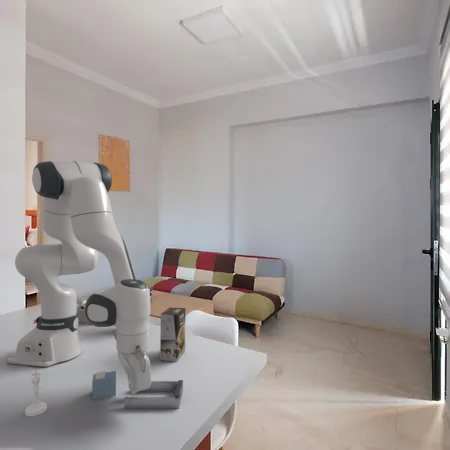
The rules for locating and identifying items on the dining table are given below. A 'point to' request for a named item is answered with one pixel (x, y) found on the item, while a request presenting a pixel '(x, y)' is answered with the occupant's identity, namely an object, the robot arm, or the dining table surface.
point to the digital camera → (82, 313)
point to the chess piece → (36, 399)
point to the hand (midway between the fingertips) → (133, 390)
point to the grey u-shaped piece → (157, 401)
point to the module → (104, 384)
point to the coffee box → (172, 334)
